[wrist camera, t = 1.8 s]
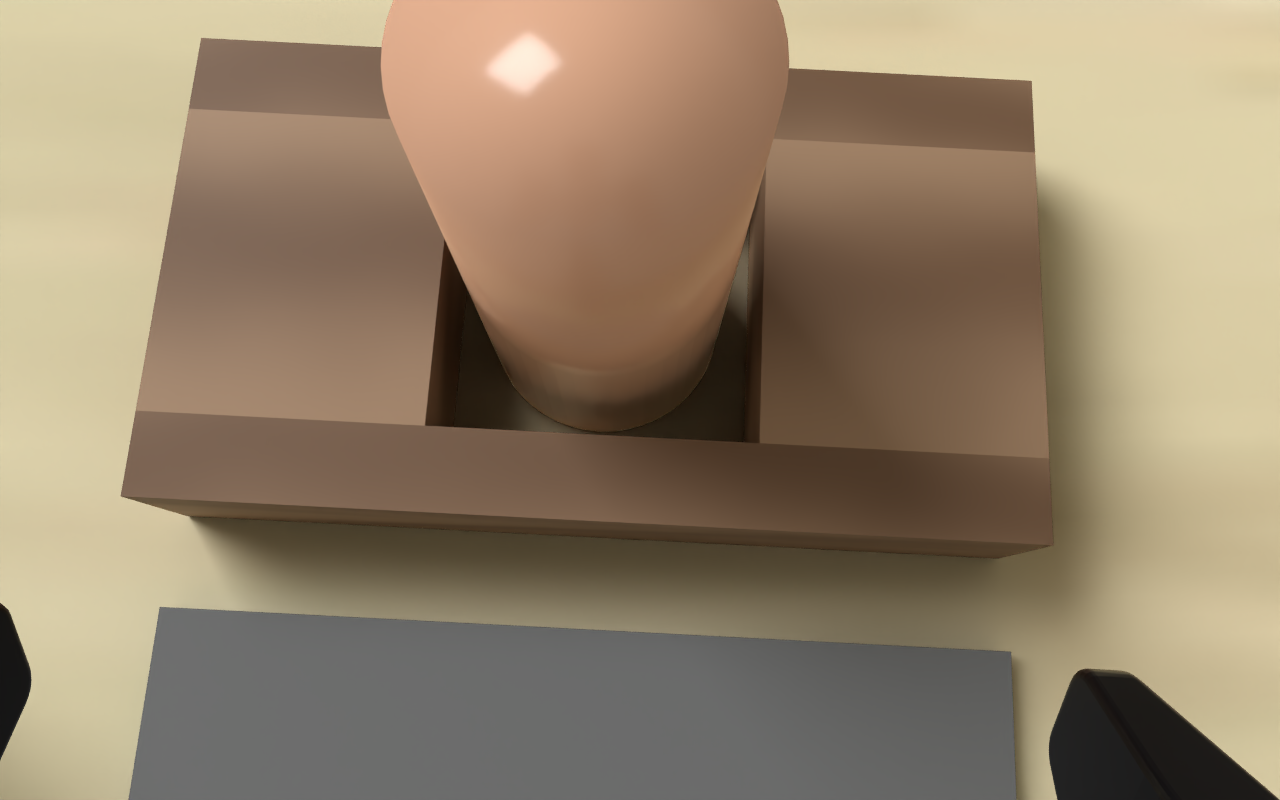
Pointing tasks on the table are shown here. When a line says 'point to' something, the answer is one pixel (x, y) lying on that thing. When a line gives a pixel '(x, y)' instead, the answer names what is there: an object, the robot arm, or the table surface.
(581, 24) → the pink tall rounded piece
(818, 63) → the table surface
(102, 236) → the table surface
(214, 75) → the well block
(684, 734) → the mat
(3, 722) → the robot arm
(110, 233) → the table surface
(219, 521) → the table surface
